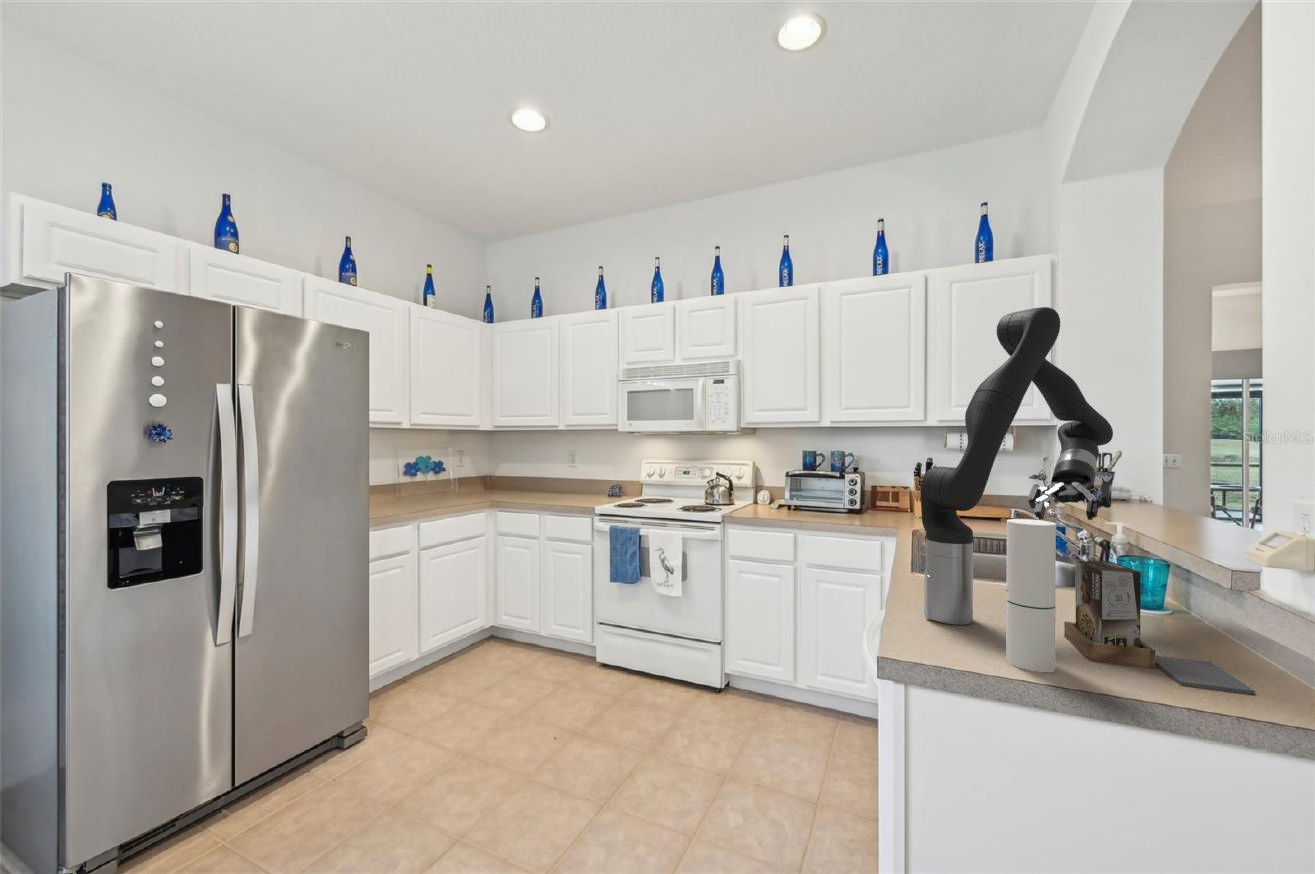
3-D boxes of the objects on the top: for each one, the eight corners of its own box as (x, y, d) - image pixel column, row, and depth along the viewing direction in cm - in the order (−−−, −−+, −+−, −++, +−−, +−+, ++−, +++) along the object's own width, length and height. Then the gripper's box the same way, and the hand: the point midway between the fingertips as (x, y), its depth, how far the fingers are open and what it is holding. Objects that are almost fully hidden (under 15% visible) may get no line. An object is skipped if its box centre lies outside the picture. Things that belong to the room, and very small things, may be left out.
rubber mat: (1181, 685, 88) (1181, 681, 88) (1145, 657, 100) (1145, 654, 100) (1255, 695, 85) (1255, 691, 85) (1209, 665, 96) (1209, 661, 96)
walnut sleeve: (1088, 660, 98) (1088, 643, 98) (1064, 636, 110) (1064, 621, 110) (1155, 668, 95) (1155, 651, 95) (1123, 642, 107) (1123, 627, 107)
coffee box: (1142, 662, 97) (1143, 571, 97) (1101, 659, 99) (1101, 570, 99) (1111, 643, 106) (1111, 560, 106) (1073, 641, 108) (1074, 558, 108)
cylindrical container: (1050, 660, 98) (1050, 520, 98) (1059, 675, 92) (1060, 526, 92) (1003, 653, 101) (1003, 518, 101) (1009, 668, 95) (1010, 523, 95)
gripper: (1033, 460, 128) (1019, 502, 119) (1111, 455, 118) (1102, 501, 108) (1042, 486, 131) (1029, 530, 121) (1118, 484, 120) (1111, 531, 110)
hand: (1063, 516), depth 114 cm, fingers open, 8 cm apart
